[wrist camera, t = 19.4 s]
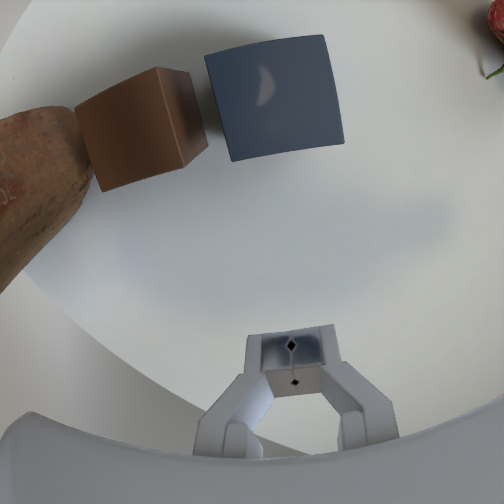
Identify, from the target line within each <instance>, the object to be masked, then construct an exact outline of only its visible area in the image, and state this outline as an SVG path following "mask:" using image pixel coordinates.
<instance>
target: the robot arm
mask: <svg viewBox="0 0 504 504" xmlns="http://www.w3.org/2000/svg"><path fill="white" fill-rule="evenodd" d="M320 392H322V394H323V396H324V397H325V398H326V399H327V400H328V401H329V403H330V404H331V405H332V406H333V407H334V409H335V410H336V411H337V412H338V413H339V414H340V416H341V417H340V424H339V431H338V438H337V443H338V451H337V452H330V453H323V454H315V455H306V456H296V457H281V458H263V446H262V445H261V444H260V442H259V441H258V440H257V438H256V437H255V435H254V434H253V431H254V430H255V428H256V427H257V425H258V424H259V422H260V421H261V419H262V418H263V416H264V415H265V413H266V412H267V410H268V409H269V407H270V405H271V404H272V402H273V401H274V398H276V397H285V396H293V395H302V394H312V393H320ZM0 504H504V394H502V395H500V396H499V397H497V398H495V399H493V400H491V401H489V402H487V403H486V404H484V405H482V406H480V407H478V408H476V409H473V410H471V411H469V412H467V413H465V414H463V415H460V416H458V417H456V418H453V419H451V420H449V421H446V422H444V423H441V424H439V425H436V426H433V427H430V428H428V429H425V430H422V431H419V432H416V433H413V434H410V435H406V436H403V437H399V432H398V427H397V422H396V418H395V414H394V409H393V405H392V401H391V400H389V399H388V398H387V397H386V396H385V395H384V394H382V393H381V392H380V391H379V390H378V389H377V388H376V387H374V386H373V385H372V384H371V383H370V382H369V381H368V380H367V379H365V378H364V377H363V376H362V375H361V374H360V373H359V372H358V371H356V370H355V369H354V368H353V367H352V366H351V365H350V364H349V363H347V362H346V361H344V362H342V361H341V356H340V351H339V346H338V341H337V336H336V331H335V326H334V325H333V324H330V325H324V326H317V327H311V328H304V329H298V330H291V331H286V332H276V333H265V334H256V335H248V337H247V342H246V353H245V364H244V374H239V375H238V376H237V377H236V379H235V380H234V381H233V382H232V383H231V384H230V386H229V387H228V388H227V389H226V390H225V391H224V393H223V394H222V395H221V396H220V397H219V398H218V399H217V401H216V402H215V403H214V404H213V405H212V406H211V407H210V409H209V410H208V411H207V412H206V413H205V414H204V415H203V416H202V417H201V419H200V420H199V422H198V428H197V432H196V438H195V444H194V450H193V455H187V454H179V453H172V452H166V451H160V450H154V449H149V448H143V447H139V446H134V445H130V444H125V443H121V442H118V441H114V440H110V439H106V438H103V437H100V436H96V435H92V434H90V433H87V432H84V431H81V430H78V429H75V428H72V427H69V426H66V425H64V424H61V423H59V422H56V421H54V420H52V419H49V418H47V417H45V416H42V415H40V414H38V413H35V412H31V411H30V412H27V413H25V414H24V415H22V416H21V417H20V418H18V419H17V420H16V421H14V422H13V423H12V424H11V425H10V426H9V427H8V428H7V429H6V431H5V432H4V434H3V436H2V438H1V440H0Z"/></svg>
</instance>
